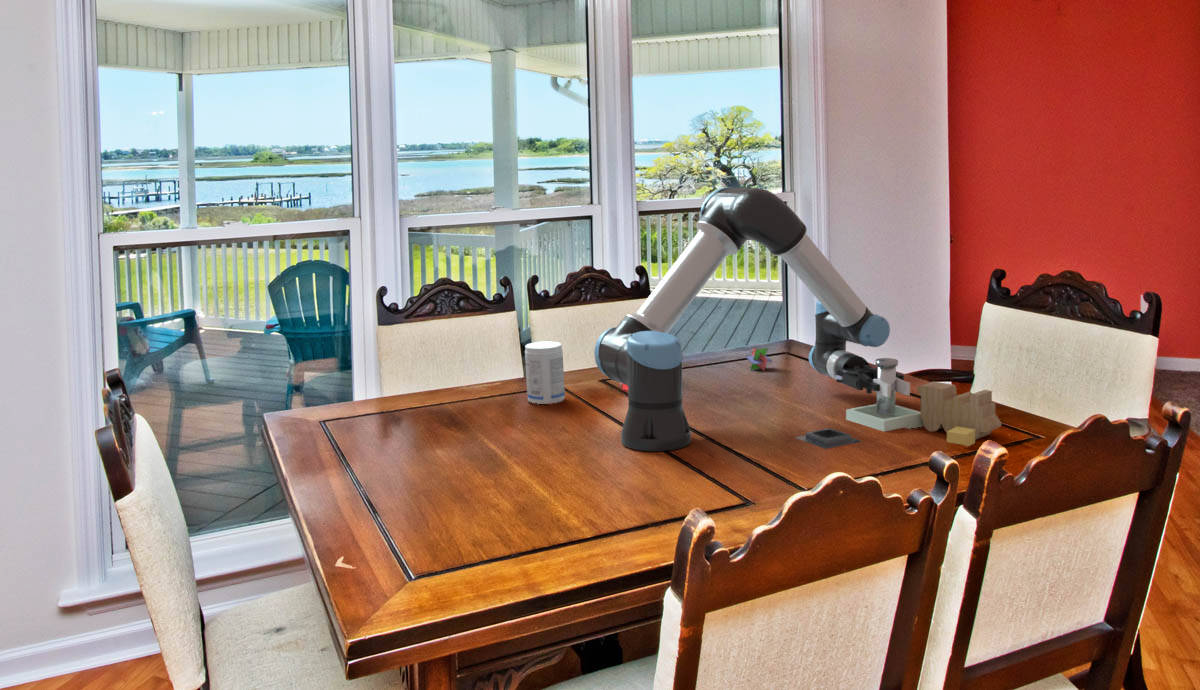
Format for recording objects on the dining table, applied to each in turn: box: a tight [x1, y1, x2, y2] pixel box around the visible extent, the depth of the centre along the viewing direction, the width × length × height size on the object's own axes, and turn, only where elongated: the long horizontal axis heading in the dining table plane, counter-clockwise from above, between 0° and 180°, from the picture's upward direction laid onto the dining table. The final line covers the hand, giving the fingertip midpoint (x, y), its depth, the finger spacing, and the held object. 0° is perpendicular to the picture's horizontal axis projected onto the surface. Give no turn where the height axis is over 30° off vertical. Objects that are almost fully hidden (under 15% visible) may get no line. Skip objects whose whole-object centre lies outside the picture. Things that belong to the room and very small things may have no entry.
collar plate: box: [794, 427, 863, 450], centre depth 215 cm, size 10×10×2 cm
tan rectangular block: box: [946, 426, 976, 447], centre depth 212 cm, size 5×4×3 cm
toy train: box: [916, 381, 1002, 441], centre depth 220 cm, size 6×17×10 cm, turn 40°
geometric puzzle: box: [744, 346, 774, 372], centre depth 287 cm, size 7×7×8 cm
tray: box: [845, 403, 924, 432], centre depth 228 cm, size 12×12×3 cm
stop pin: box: [875, 357, 899, 415], centre depth 227 cm, size 5×5×12 cm
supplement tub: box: [524, 340, 566, 405], centre depth 257 cm, size 10×10×15 cm
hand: (898, 390), depth 222 cm, fingers closed on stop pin, 4 cm apart
